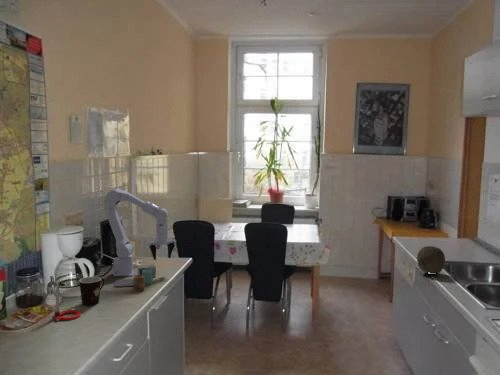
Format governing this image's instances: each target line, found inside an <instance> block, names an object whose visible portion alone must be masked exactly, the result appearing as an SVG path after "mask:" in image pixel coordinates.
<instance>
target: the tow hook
mask: <svg viewBox="0 0 500 375" xmlns="http://www.w3.org/2000/svg"><path fill="white" fill-rule="evenodd" d="M67 314H68V315H69V314H73V316H63V315H67ZM74 314H75V315H74ZM53 316H54V319H55V321H56V322H60V321H71V320H76V319H78V318H80V317H81V316H82V312H81V311H79V310H74V309H73V310H72V309H71V310H63V311H60V284H57V285H56V290H55V304H54V313H53Z"/></svg>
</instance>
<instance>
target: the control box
mask: <svg viewBox="0 0 500 375" xmlns="http://www.w3.org/2000/svg"><path fill="white" fill-rule="evenodd" d="M136 267H137V275H142V271H143V270H148V269H152V278H156V276H157V266H156V265H155V264H144V265H137V266H136Z"/></svg>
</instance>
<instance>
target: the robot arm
mask: <svg viewBox="0 0 500 375" xmlns="http://www.w3.org/2000/svg"><path fill="white" fill-rule="evenodd" d="M104 201H105V202H104V205H103V206H104V208H103V209H104V211H105V214H106V217H107V219H108V222H109V226H110V228H111V231H112V233H113V235H114V238H115V248H116V255H117V256H116V257H113V263H112V264H113V266H112V267H113V269H112V270H113V272H112V273H113V275H112V276H113V277H132V276H134V273H135V270H134V267H133V266H134V265H133V262H134V261H133V258H134V257H133V252H134V249H135V248H134V245H133V243H131V242H130V239H129V238H128V237H127V235H126V233H125V229H124V227H123V224H122V222H121V219H120V216H119V214H118V212H117V211H118V210H117V209H116V208H117V207H118V205H119V204H120V202H129V203H131V204H133V205H135V206H137V207H139V208H141V211H142V212H144V213H146V214H148V215H149V216H151V217H153V218H154V219H155V220H156V223H155V227H156V228H155V229H156V230H155V240H153V241H152V240H150V241H147V242H146V243H147V247H148V248H149V249H150V251H151V254H152V258H153V260H154V261H156V260H157V247H156V246H164V245H166V246H167V258H168V259H171V257H172V254H173V251H174V248H175V247H176V246H175V245H177V240H176V239H168V237H169V236H168V233H169V231H168V229H169V227H168V226H169V225H168V217H169V215H170V214H169V210H168V209H166V208H164V207H161V206H160V205H159V206H158V205H156V204H154V202H153V201H144V200H142V199H140V198H138V196H135V195H134V194H132V193H130V192H129V191H127V190H123V189H122V188H119V187H118V188H114V189H110V190H109V191H108V192H107V193H106V194H105V200H104Z"/></svg>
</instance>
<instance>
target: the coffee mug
mask: <svg viewBox="0 0 500 375" xmlns="http://www.w3.org/2000/svg"><path fill="white" fill-rule="evenodd" d="M78 285H79V290H80V297H81V298H80V299H81V304H82V306H84V307H92V306H96V305H99V303H100V296H101V295H100V294H101V290H102V289H103V287H104V286H105V279H104V278H101V277H100V276H86V277H82V278H80V279H79V280H78Z"/></svg>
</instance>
